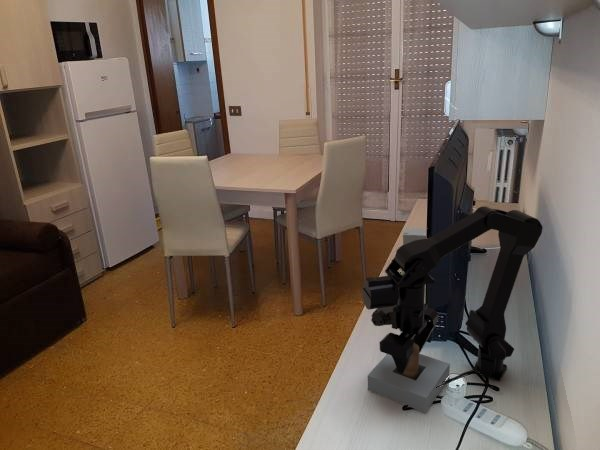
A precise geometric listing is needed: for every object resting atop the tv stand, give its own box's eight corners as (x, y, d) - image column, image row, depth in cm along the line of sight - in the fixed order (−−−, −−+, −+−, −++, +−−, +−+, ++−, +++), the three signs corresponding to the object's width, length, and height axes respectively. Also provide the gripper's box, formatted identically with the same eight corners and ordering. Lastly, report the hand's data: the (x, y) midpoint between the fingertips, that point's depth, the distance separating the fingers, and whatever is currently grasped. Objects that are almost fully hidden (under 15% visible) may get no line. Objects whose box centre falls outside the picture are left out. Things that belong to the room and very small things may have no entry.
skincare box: (429, 269, 166) (430, 227, 161) (426, 278, 160) (428, 235, 155) (405, 267, 169) (406, 226, 164) (401, 275, 163) (402, 233, 158)
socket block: (394, 358, 118) (394, 345, 116) (449, 377, 110) (449, 363, 108) (367, 389, 107) (367, 375, 106) (425, 413, 99) (426, 397, 98)
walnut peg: (404, 376, 111) (405, 340, 108) (420, 382, 109) (421, 345, 106) (397, 385, 108) (398, 348, 105) (413, 391, 106) (414, 354, 103)
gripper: (395, 277, 113) (395, 332, 118) (357, 310, 99) (358, 371, 104) (440, 288, 107) (437, 346, 112) (406, 325, 93) (404, 389, 98)
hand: (409, 362), depth 107 cm, fingers open, 9 cm apart
